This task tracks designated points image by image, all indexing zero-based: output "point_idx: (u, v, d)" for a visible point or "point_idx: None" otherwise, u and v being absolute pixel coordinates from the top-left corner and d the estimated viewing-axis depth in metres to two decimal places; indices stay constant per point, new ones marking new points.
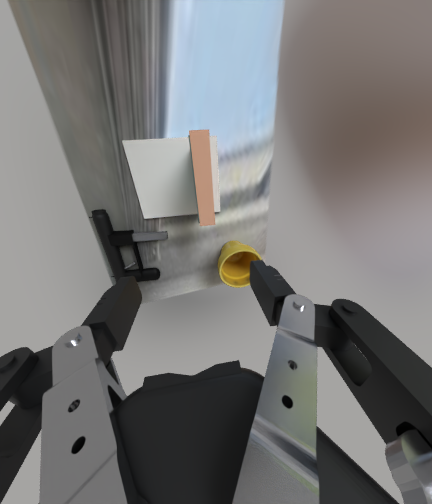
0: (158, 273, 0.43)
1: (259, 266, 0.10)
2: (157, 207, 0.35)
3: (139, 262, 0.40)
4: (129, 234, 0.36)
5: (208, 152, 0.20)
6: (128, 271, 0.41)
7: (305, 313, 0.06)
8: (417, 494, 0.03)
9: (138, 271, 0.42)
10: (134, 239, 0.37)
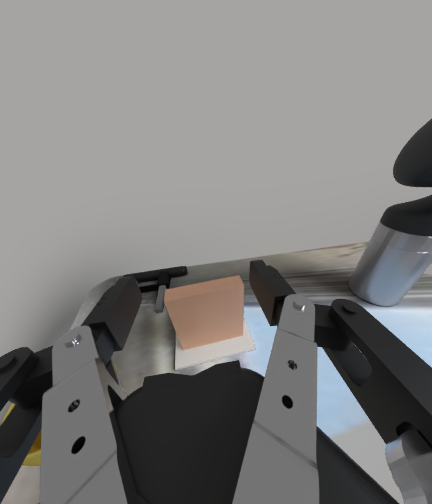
0: None
1: (259, 266, 0.10)
2: None
3: None
4: (166, 282, 0.44)
5: (228, 287, 0.24)
6: None
7: (305, 313, 0.06)
8: (417, 494, 0.03)
9: None
10: (161, 286, 0.44)
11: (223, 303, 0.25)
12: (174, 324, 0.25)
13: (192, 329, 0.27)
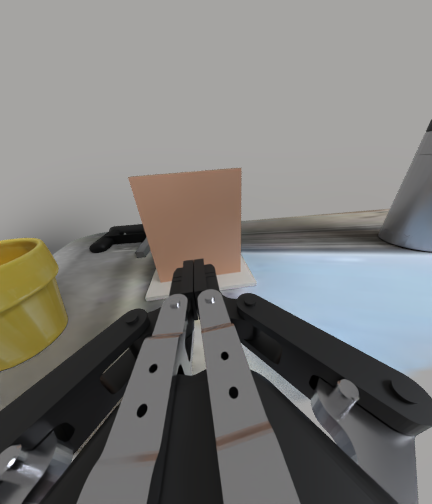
0: (96, 247, 0.34)
1: (197, 264, 0.10)
2: None
3: (123, 237, 0.37)
4: None
5: (219, 169, 0.17)
6: (120, 233, 0.41)
7: (209, 305, 0.07)
8: (342, 434, 0.04)
9: None
10: None
11: (212, 200, 0.18)
12: (145, 228, 0.19)
13: (171, 243, 0.20)
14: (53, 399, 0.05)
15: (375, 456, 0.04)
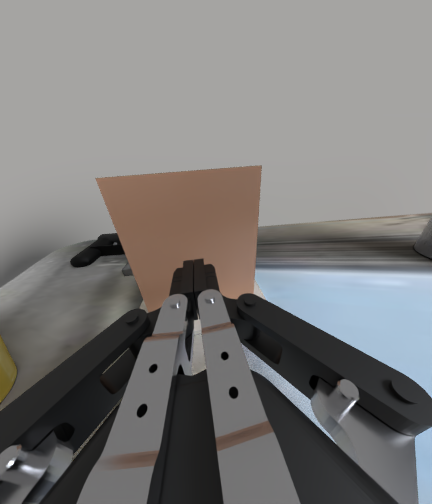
0: (78, 261, 0.29)
1: (197, 264, 0.10)
2: None
3: (111, 248, 0.32)
4: None
5: None
6: (109, 243, 0.35)
7: (209, 305, 0.07)
8: (342, 434, 0.04)
9: None
10: None
11: (219, 211, 0.13)
12: (126, 249, 0.14)
13: (162, 267, 0.15)
14: (53, 399, 0.05)
15: (375, 456, 0.04)
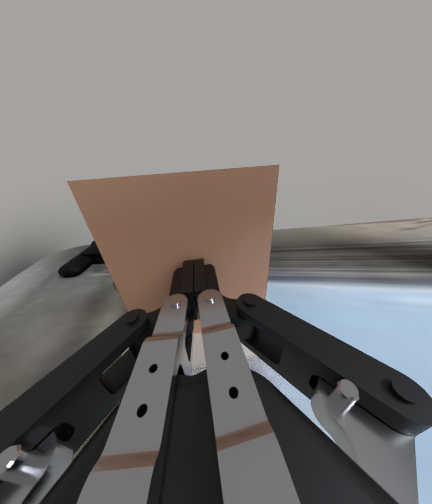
0: (66, 271, 0.26)
1: (197, 264, 0.10)
2: None
3: None
4: None
5: None
6: None
7: (209, 305, 0.07)
8: (342, 434, 0.04)
9: None
10: None
11: (225, 222, 0.11)
12: (110, 267, 0.11)
13: (155, 288, 0.12)
14: (53, 399, 0.05)
15: (375, 456, 0.04)
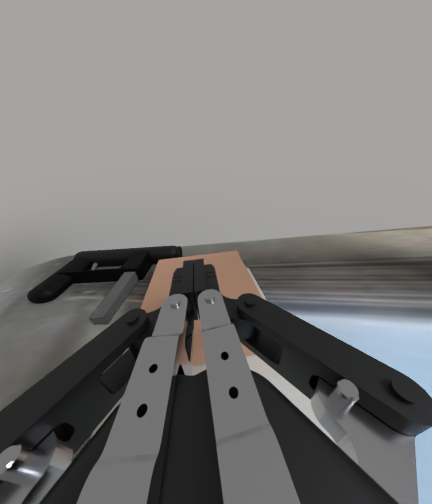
0: (36, 296, 0.21)
1: (197, 264, 0.10)
2: None
3: (87, 274, 0.24)
4: (137, 267, 0.24)
5: None
6: (87, 264, 0.27)
7: (209, 306, 0.07)
8: (342, 435, 0.04)
9: None
10: (126, 273, 0.24)
11: (217, 264, 0.21)
12: (151, 283, 0.18)
13: None
14: (53, 399, 0.05)
15: (375, 456, 0.04)
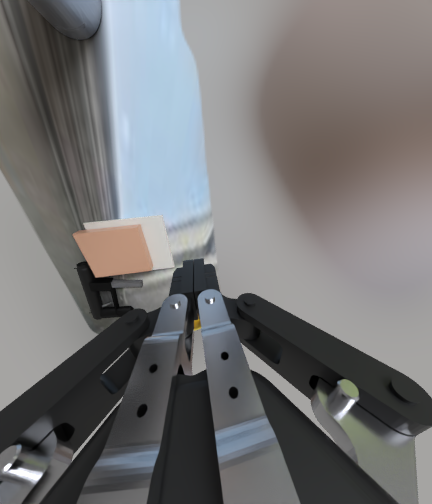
0: None
1: (197, 264, 0.10)
2: None
3: (115, 303, 0.47)
4: (108, 283, 0.42)
5: None
6: (105, 309, 0.47)
7: (209, 306, 0.07)
8: (342, 434, 0.04)
9: (114, 309, 0.48)
10: (112, 286, 0.44)
11: (94, 246, 0.36)
12: (118, 274, 0.40)
13: (124, 264, 0.39)
14: (53, 399, 0.05)
15: (375, 456, 0.04)
